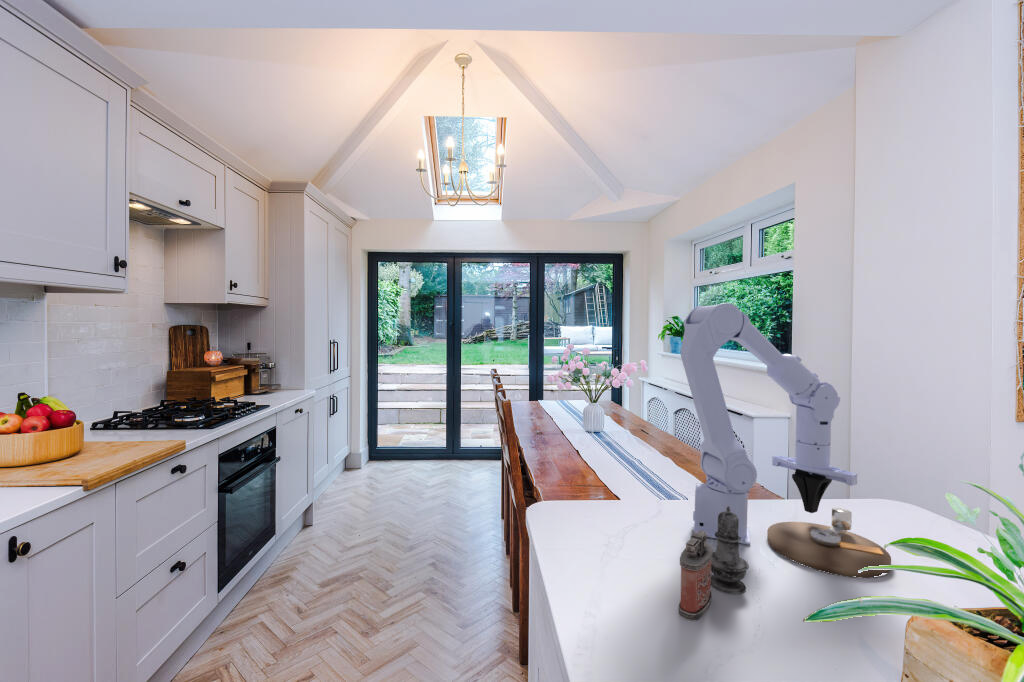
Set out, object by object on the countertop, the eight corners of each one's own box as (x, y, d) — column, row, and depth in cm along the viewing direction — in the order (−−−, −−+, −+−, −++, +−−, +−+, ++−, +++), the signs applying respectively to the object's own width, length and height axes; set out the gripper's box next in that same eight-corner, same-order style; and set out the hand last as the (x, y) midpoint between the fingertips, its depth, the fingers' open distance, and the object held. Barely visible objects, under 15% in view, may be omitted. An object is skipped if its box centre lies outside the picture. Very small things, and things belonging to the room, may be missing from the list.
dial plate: (772, 562, 77) (772, 552, 77) (763, 522, 93) (763, 514, 93) (908, 588, 69) (908, 577, 69) (872, 540, 85) (872, 531, 85)
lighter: (692, 589, 68) (694, 522, 68) (716, 597, 66) (718, 529, 66) (673, 614, 62) (674, 541, 62) (698, 624, 60) (700, 548, 60)
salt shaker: (753, 597, 66) (755, 515, 66) (710, 592, 67) (712, 511, 67) (741, 576, 72) (743, 501, 72) (702, 572, 73) (703, 497, 73)
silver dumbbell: (834, 548, 78) (835, 526, 78) (806, 539, 82) (806, 517, 81) (858, 533, 84) (858, 512, 84) (830, 525, 88) (831, 505, 88)
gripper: (865, 448, 85) (864, 520, 85) (786, 432, 97) (784, 496, 98) (847, 452, 81) (845, 528, 81) (767, 436, 94) (765, 501, 94)
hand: (811, 511), depth 89 cm, fingers closed
